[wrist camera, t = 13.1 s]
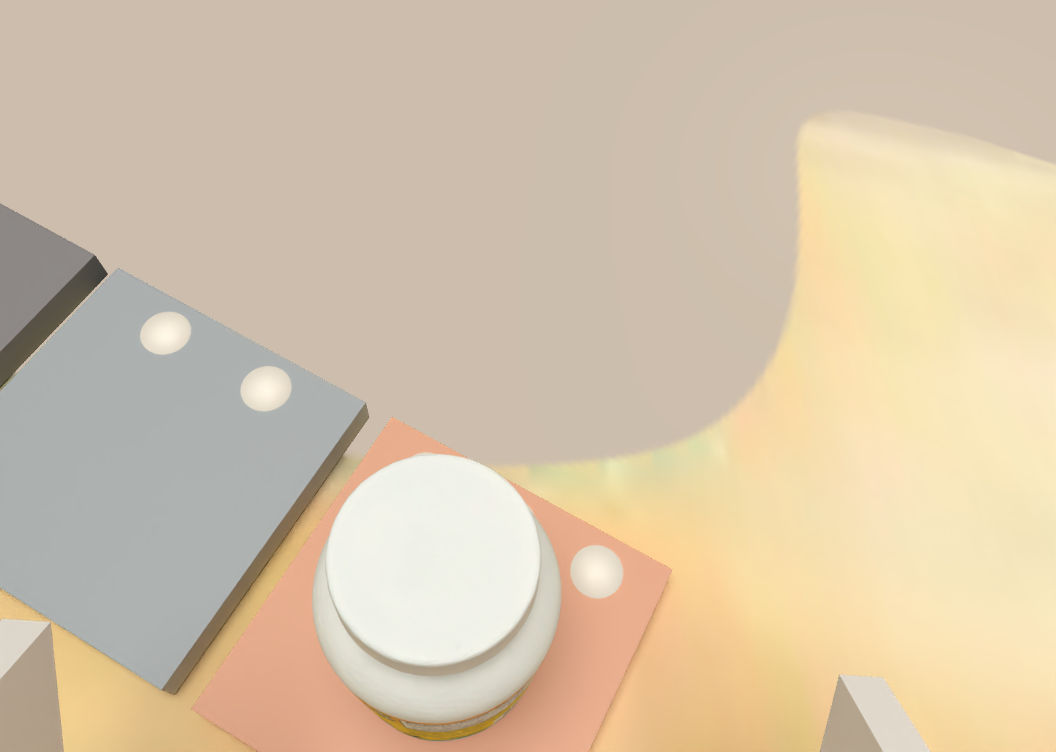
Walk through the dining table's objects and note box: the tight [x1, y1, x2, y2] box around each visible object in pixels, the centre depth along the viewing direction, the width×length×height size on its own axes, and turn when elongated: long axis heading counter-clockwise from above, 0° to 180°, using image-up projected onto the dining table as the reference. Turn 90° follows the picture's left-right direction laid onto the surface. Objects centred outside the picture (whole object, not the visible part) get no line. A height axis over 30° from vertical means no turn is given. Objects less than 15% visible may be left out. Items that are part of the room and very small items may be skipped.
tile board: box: [0, 204, 672, 752], centre depth 26 cm, size 32×10×1 cm, turn 62°
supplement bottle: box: [312, 454, 561, 742], centre depth 20 cm, size 5×5×10 cm
